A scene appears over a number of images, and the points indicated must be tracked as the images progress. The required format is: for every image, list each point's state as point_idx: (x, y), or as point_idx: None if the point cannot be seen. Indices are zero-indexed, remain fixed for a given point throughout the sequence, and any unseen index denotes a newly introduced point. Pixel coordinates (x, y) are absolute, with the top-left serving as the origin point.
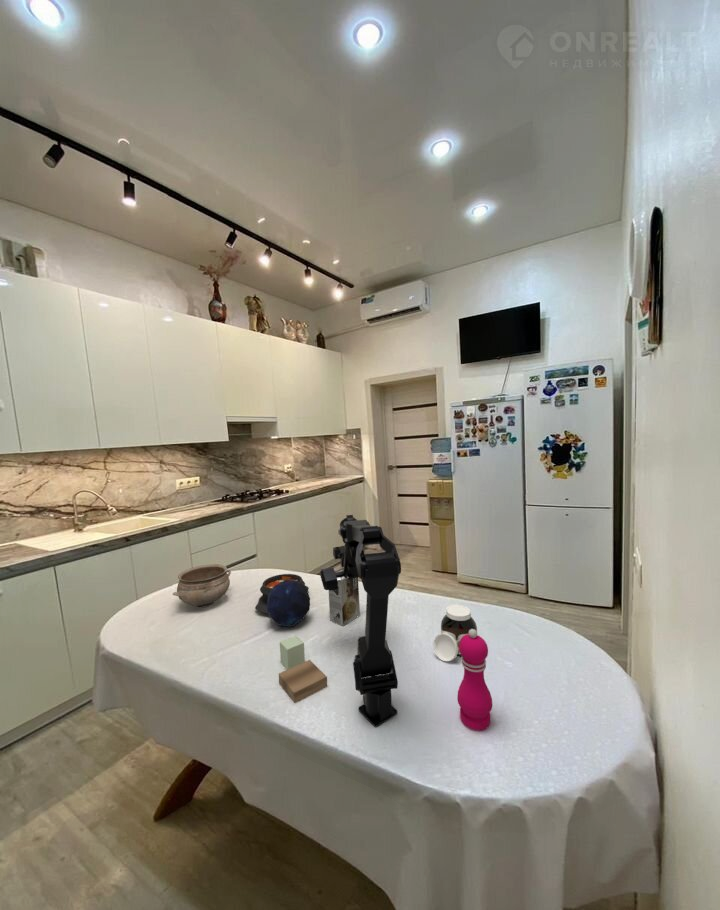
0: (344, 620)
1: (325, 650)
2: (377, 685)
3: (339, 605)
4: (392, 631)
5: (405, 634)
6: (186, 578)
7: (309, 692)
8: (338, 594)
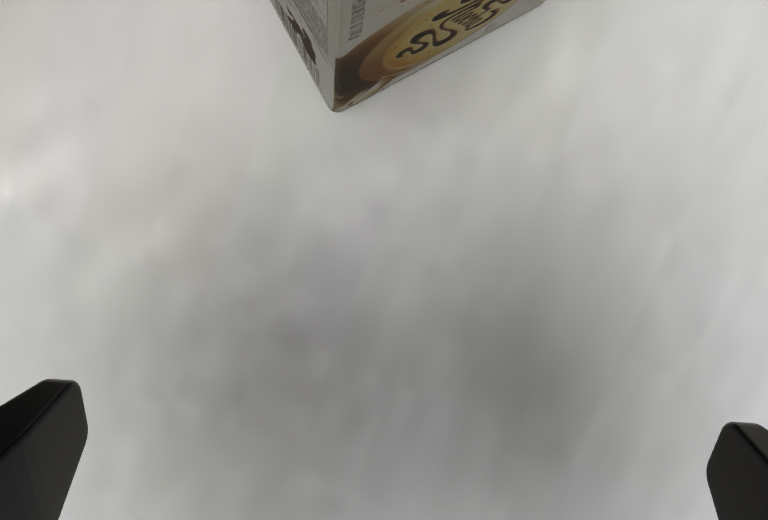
0: (354, 95)
1: None
2: None
3: (312, 18)
4: (685, 379)
5: None
6: None
7: None
8: (60, 510)
